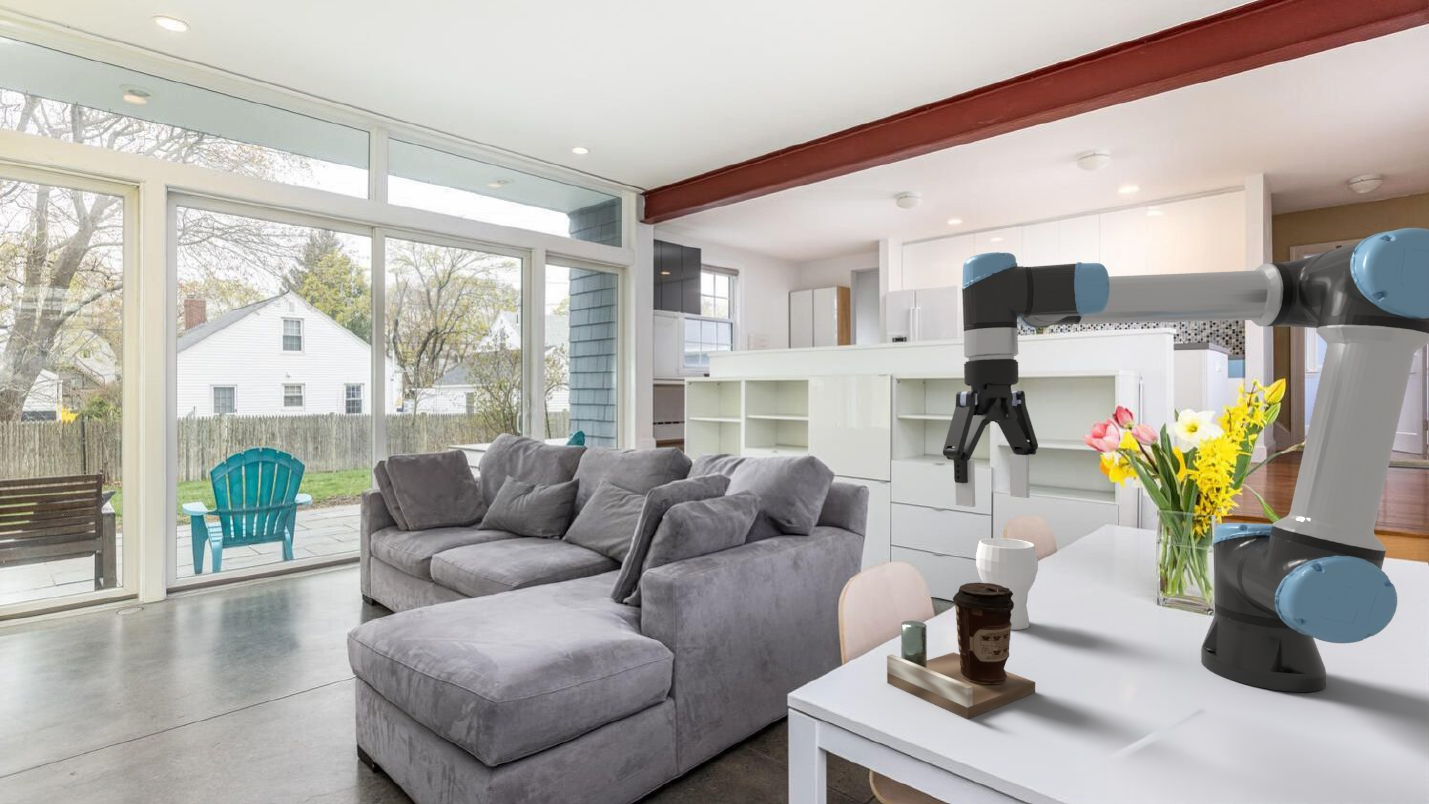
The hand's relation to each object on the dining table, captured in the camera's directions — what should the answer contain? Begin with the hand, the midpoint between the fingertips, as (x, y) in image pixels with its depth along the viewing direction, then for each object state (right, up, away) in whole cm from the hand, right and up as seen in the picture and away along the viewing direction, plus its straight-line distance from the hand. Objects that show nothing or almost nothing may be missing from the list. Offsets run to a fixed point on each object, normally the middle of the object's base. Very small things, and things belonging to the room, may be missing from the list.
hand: (993, 501), depth 104 cm
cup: (+13, -27, +26) cm, 39 cm away
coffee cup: (-3, -25, -3) cm, 26 cm away
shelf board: (-6, -27, -3) cm, 27 cm away
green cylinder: (-12, -25, -1) cm, 28 cm away
